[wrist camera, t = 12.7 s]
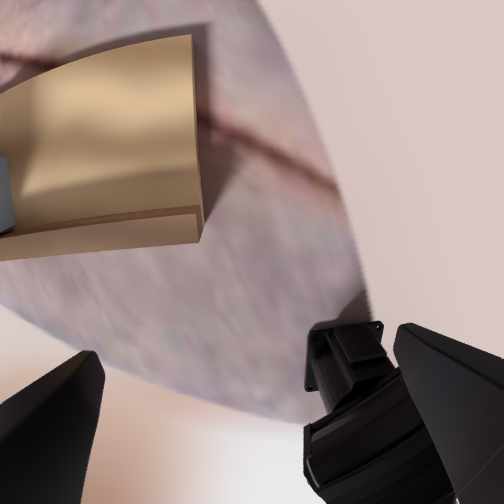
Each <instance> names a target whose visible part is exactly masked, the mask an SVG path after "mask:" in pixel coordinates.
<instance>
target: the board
mask: <svg viewBox="0 0 504 504" xmlns="http://www.w3.org/2000/svg"><path fill="white" fill-rule="evenodd" d="M1 157H7V160H8V172H9V181H10V190H11V197H12V204H13V210H14V216H15V221H16V225H14V226H12V227H10V228H8V229H6V230H3V231H1V232H0V261H7V260H16V259H26V258H36V257H45V256H56V255H66V254H76V253H87V252H97V251H108V250H119V249H130V248H142V247H153V246H165V245H177V244H189V243H199V241H200V238H201V235H202V231H203V228H204V225H205V221H204V210H203V199H202V187H201V175H200V161H199V147H198V131H197V113H196V92H195V65H194V41H193V38H192V35H191V34H190V35H182V36H175V37H168V38H162V39H157V40H151V41H146V42H141V43H137V44H132V45H128V46H124V47H120V48H116V49H112V50H109V51H105V52H101V53H98V54H95V55H91V56H88V57H85V58H82V59H79V60H76V61H73V62H71V63H68V64H65V65H62V66H60V67H57V68H55V69H52V70H50V71H47V72H45V73H42V74H40V75H38V76H35V77H33V78H31V79H29V80H27V81H25V82H22V83H20V84H18V85H16V86H14V87H12V88H10V89H8V90H6V91H5V92H3V93H1V94H0V158H1Z"/></svg>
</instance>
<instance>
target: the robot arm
mask: <svg viewBox="0 0 504 504" xmlns="http://www.w3.org/2000/svg"><path fill="white" fill-rule="evenodd" d="M378 326H379V327H378ZM377 327H378V328H377ZM383 329H384V325H383V324H382V322H381V321H374V322H368V323H360V324H354V325H347V326H341V327H336V328H330V329H323V330H316V331H312V332H310V333H309V334H308V336H307V352H306V367H305V380H304V388H305V391H307V392H313V391H319V392H320V395H321V397H322V400H323V403H324V406H325V409H326V411H327V414H328V415H326V416H324V417H323V418H321V419H319V420H318V421H316V422H314V423H312V424H311V423H310V424H308V425H306V426H304V453H303V454H304V455H303V456H304V457H303V465H304V467H303V470H304V471H303V473H304V476H305V477H306V479H307V482H308V484H309V485H310V486H311V487H312V489H313V490H314V492H315V493H316V494H317V495H318V496H319V497H321V498H322V499H323V500H324V501H325V502H326V504H458V503H457V501H456V499H457V498H458V501H459V504H504V359H502V358H501V357H498V356H495V355H493V354H490V353H488V352H485V351H482V350H480V349H477V348H475V347H472V346H470V345H467V344H465V343H462V342H459V341H457V340H454V339H452V338H449V337H446V336H444V335H442V334H439V333H437V332H434V331H431V330H429V329H426V328H424V327H421V326H419V325H416V324H414V323H406V324H401V325H400V326H399V327H398V329H397V333H396V338H395V342H394V346H393V351H394V355H395V358H396V360H397V363H398V365H399V366H398V367H397V368H395V366H394V365H393V364H392V362H391V361H390V359H389V358H388V356H387V352H386V351H385V349H384V348H383V346H382V345H381V344H380V343H381V339H382V334H383ZM314 336H316V338H314V339H312V338H313V337H314ZM104 383H105V372H104V369H103V367H102V365H101V362H100V360H99V357H98V355H97V353H96V352H95V351H88V350H83V351H81V352H79V353H78V354H76V355H75V356H73V357H72V358H70V359H69V360H67V361H66V362H64V363H63V364H61V365H59V366H58V367H56V368H55V369H53V370H51V371H50V372H49V373H47V374H45V375H44V376H42V377H41V378H39V379H38V380H36V381H35V382H33V383H32V384H30V385H28V386H27V387H25V388H24V389H22V390H21V391H19V392H18V393H16V394H15V395H13V396H11V397H10V398H8V399H7V400H6V401H4V402H2V404H0V504H81V498H82V493H83V486H84V481H85V476H86V471H87V467H88V462H89V457H90V453H91V448H92V444H93V440H94V436H95V432H96V428H97V424H98V419H99V414H100V407H101V401H102V394H103V389H104ZM310 386H311V387H310Z"/></svg>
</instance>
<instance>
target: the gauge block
mask: <svg viewBox="0 0 504 504" xmlns="http://www.w3.org/2000/svg"><path fill="white" fill-rule="evenodd" d="M14 225H16V221H15V216H14V210H13V204H12V197H11V190H10V181H9V172H8V160H7V157H1V158H0V232H1V231H3V230H6V229H8V228H10V227H12V226H14Z"/></svg>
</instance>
